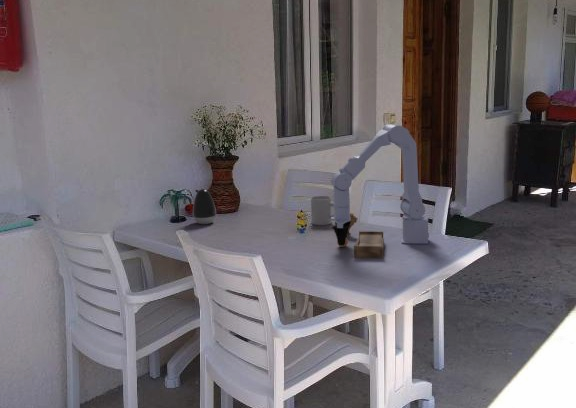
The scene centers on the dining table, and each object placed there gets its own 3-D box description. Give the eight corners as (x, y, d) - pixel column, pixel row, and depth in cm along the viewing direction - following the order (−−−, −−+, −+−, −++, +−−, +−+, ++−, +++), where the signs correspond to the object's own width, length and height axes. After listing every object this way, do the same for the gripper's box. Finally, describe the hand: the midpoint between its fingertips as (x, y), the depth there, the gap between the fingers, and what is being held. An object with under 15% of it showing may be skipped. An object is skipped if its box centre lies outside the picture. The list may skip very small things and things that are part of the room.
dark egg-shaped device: (207, 219, 268) (205, 186, 265) (221, 222, 260) (219, 188, 257) (188, 223, 261) (186, 189, 258) (202, 227, 254) (199, 192, 250)
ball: (348, 245, 217) (348, 234, 216) (347, 248, 213) (347, 237, 213) (337, 245, 218) (337, 234, 217) (336, 248, 214) (336, 237, 213)
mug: (307, 224, 252) (306, 198, 249) (318, 219, 258) (318, 195, 256) (331, 227, 245) (330, 201, 242) (342, 222, 251) (341, 197, 249)
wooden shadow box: (384, 242, 219) (384, 231, 218) (382, 257, 201) (382, 245, 200) (358, 242, 221) (358, 231, 220) (354, 257, 203) (353, 245, 202)
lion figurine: (359, 235, 230) (359, 213, 228) (349, 238, 227) (348, 215, 225) (336, 228, 242) (336, 207, 240) (326, 230, 239) (325, 209, 238)
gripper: (333, 201, 220) (333, 237, 223) (328, 210, 206) (329, 247, 209) (352, 201, 219) (352, 237, 222) (348, 210, 205) (349, 248, 208)
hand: (342, 242), depth 215 cm, fingers open, 6 cm apart
